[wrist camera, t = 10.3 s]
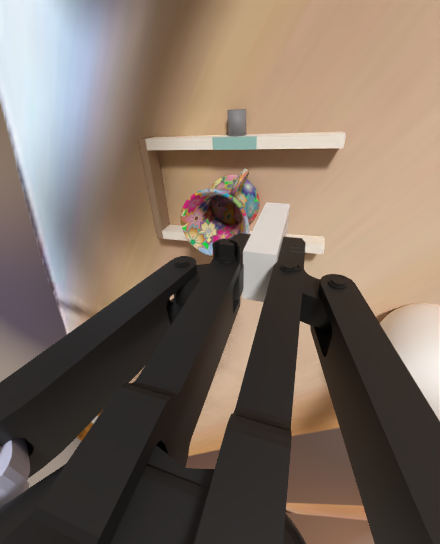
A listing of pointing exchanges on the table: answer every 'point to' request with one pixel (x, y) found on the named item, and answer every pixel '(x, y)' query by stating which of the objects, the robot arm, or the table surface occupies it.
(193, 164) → the table surface
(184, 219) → the mug
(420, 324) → the vase
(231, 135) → the teal-striped rail frame
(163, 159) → the table surface
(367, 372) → the robot arm
